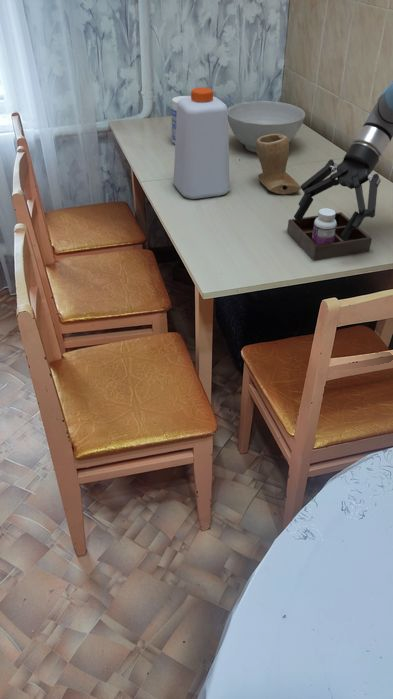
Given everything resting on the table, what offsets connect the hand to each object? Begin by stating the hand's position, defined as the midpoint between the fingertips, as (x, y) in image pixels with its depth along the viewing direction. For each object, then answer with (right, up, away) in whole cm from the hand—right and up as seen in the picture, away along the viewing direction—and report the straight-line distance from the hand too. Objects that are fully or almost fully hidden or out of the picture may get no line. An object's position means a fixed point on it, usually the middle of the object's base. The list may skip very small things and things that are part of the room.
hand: (319, 229), depth 131 cm
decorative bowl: (-6, +43, +62) cm, 76 cm away
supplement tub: (-34, +46, +66) cm, 87 cm away
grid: (+4, -1, +9) cm, 10 cm away
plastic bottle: (-28, +20, +34) cm, 49 cm away
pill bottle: (+2, -4, +5) cm, 6 cm away
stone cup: (-6, +21, +36) cm, 42 cm away
